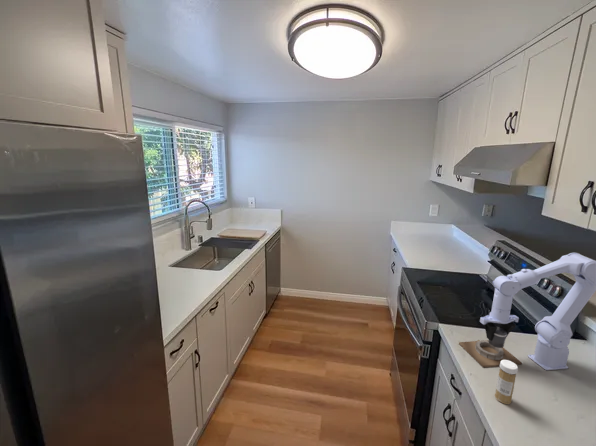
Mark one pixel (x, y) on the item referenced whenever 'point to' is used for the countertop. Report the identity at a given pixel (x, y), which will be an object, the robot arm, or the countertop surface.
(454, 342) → the countertop surface
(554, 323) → the robot arm
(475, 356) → the mount board
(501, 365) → the sprinkles bottle
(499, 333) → the lens
